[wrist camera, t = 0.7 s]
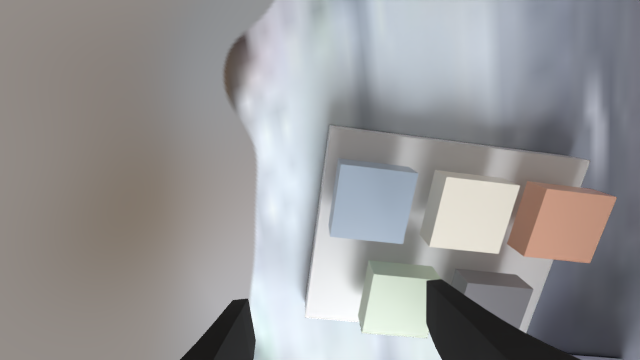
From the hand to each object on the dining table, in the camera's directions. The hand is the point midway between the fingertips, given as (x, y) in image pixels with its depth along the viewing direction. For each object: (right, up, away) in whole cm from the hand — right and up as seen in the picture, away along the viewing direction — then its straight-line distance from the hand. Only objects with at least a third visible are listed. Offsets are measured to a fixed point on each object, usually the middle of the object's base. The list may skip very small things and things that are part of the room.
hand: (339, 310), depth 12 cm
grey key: (+9, -2, +7) cm, 12 cm away
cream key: (+7, +4, +6) cm, 10 cm away
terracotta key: (+13, +3, +6) cm, 14 cm away
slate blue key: (+2, +4, +5) cm, 7 cm away
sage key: (+4, -2, +7) cm, 8 cm away
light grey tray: (+7, +1, +9) cm, 11 cm away
